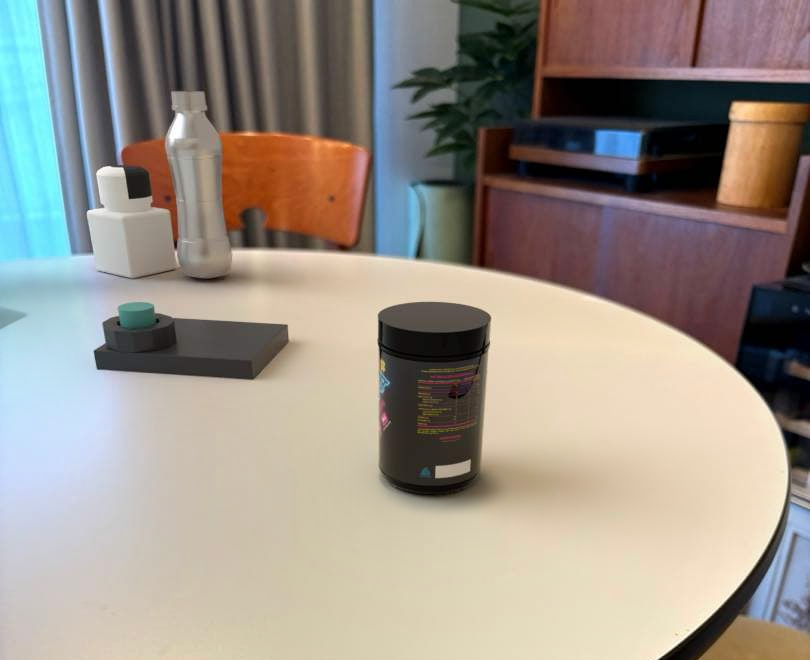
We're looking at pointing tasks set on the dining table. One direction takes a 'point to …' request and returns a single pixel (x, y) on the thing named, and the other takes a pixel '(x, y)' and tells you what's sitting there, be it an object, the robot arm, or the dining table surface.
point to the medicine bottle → (130, 225)
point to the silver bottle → (197, 188)
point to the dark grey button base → (191, 347)
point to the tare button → (137, 314)
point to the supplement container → (432, 395)
